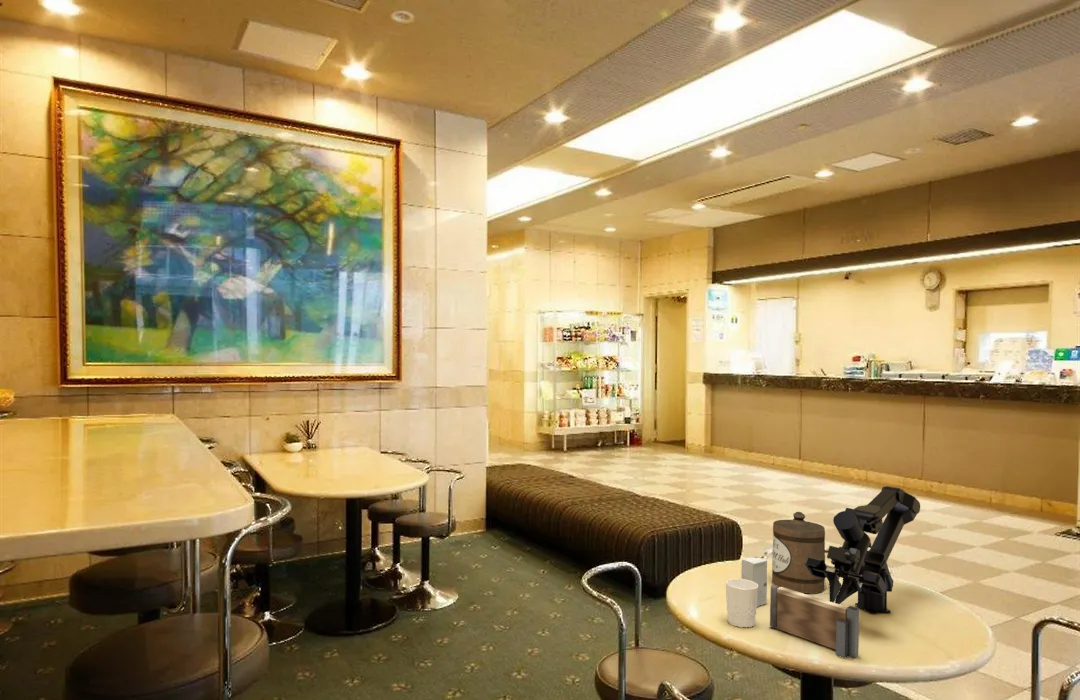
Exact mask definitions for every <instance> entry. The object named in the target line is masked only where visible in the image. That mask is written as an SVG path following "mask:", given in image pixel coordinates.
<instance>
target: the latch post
mask: <svg viewBox="0 0 1080 700" xmlns="http://www.w3.org/2000/svg"><path fill="white" fill-rule="evenodd" d="M846 607H847V621H845V620H842V619H838V620H837V625H836V649H835V656H836V655H837V656H836V657H839V656H841V657H840V658H842V657H843V659H846V658H847V656H848V657H849V656H850V657H849V658H851V657H853V658H852V659H854V658H855V659H857V658H858V657H859V644H860V643H859V642H860V641H859V640H860V636H859V635H860V633H859V632H860V608H859V607H857V606H852V605H849V606H846ZM845 657H846V658H845ZM856 657H857V658H856Z"/></svg>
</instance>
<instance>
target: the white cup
mask: <svg viewBox="0 0 1080 700" xmlns="http://www.w3.org/2000/svg"><path fill="white" fill-rule="evenodd" d="M725 586H726V587H725V589H726V598H725V599H726V611H727V612H726V613H727V614H726V615H727V622H728V623H729V624H730V625H732V626H733V627H734V626H735V627H737V626H738V628H743V627H746V628H747V627H749V628H752V626H753V627H754V626H755V625H756V615H757V607H758V606H757V596H758V584H756V583H755V582H753V581H750V580H746V579H741V578H730V579H727V580H726V582H725ZM746 628H745V629H746Z"/></svg>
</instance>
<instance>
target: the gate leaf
mask: <svg viewBox="0 0 1080 700" xmlns="http://www.w3.org/2000/svg"><path fill="white" fill-rule="evenodd" d="M769 602H770V605H769V606H770V607H769V626H770V627H771V628H774V629H775V628H776V629H777V630H779V631H783V632H785V633H789V634H791V635H794V636H797V637H800V638H803V639H805V640H808V641H810V642H814V643H817V644H820V645H823V646H824V647H827V648H830V649H833V650H836V625H837V620H838V619H842V620H845V621H847V607H848V606H846V605H842V604H836V603H835V602H834V603H833V602H830V600H826V599H823V598H819V597H816V596H812V595H811V594H803V593H800V592H797V591H794V590H790V589H787V588H784V587H780V588H779V586H777V585H774V584H771V585H770V601H769Z"/></svg>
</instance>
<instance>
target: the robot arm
mask: <svg viewBox="0 0 1080 700" xmlns="http://www.w3.org/2000/svg"><path fill="white" fill-rule="evenodd" d="M920 510H921V502H920V501H919V500H918V499H917V497H915V496H913V495H911V494H909V493H907V492H906V491H904V489H902V488H900V487H895V486H888V485H886V486H882V488H881V491H880V492H879V493H878V494H877V495H876V496H875V497H874V498H873V499H872V500H870V502H868V504H864V505H858V506H857V507H855V508H849V507H846V508H845V510H842V511H840V512H838V513H836V515H834V516H833V519H832V520H833V525H834V526H835V528H836V530H837V532H838V534H839V536H840V537H841V539H842V540H844V541H843V543H842V546H838V547H837V546H834V545H829V546H828V551H827V554H826V558H827V559H828V560H829V559H830V563H831V565H829V564H827V563H826V561H825V562H824V560H822V559H818V558H815V557H809V558H807V560H806V562H805V565H806V567H807V568H808V570H809V572H810V573H811V575H813V576H815V577H819V578H822V579H824V578H825V579H827V582H828V587H829V589H828V590H829V601H830V602H833V603H836V604H839V605H841V604H842V603H843V602H844V601H846V600H847V599H848V598H849V597H852V595H854V594H855V593H857V602H855V604H854V606H855V607H857V608H859V609H861V610H863V611H865V612H866V613H868V614H889V613H891V612H892V611H891V609H888V608H887V606H888V605H887V604H888V601H887V599H888V593H892V592H893V588H894V579H893V577H892V575H891V574H890V570H889V569H890V568H889V566H888V559H889V558H890V556H891V553H892V551H893V549H894V547H895V545H896V542H897V540H898V539H899V537H900V534H901V531H902V530H903V528H904V526H905V525H907V524H909V523H911V522H913V521H914V520H915V518H916V517H917V516H918V514H919V513H920ZM884 517H885V518H884ZM883 519H884V520H883ZM869 534H872V535H876V537H875V538H874V540H873V543H872V542H871V538H870V536H869ZM869 548H870V549H869ZM868 549H869V550H868ZM840 578H842V583H841V582H840Z"/></svg>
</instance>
